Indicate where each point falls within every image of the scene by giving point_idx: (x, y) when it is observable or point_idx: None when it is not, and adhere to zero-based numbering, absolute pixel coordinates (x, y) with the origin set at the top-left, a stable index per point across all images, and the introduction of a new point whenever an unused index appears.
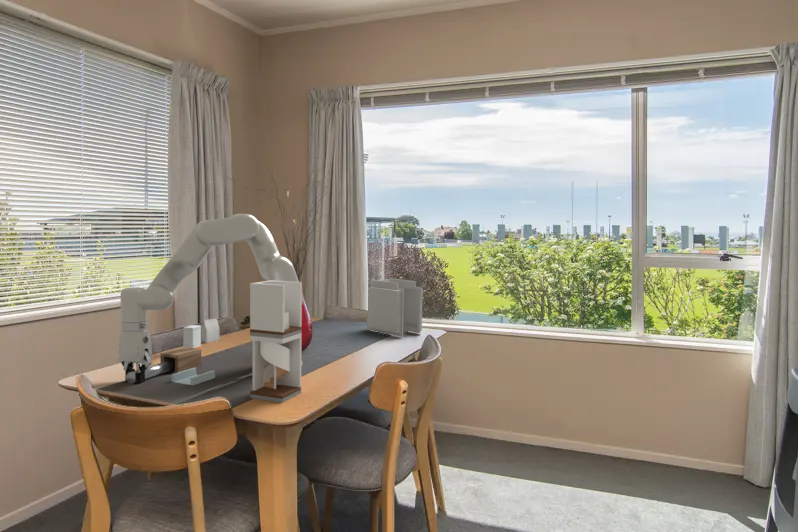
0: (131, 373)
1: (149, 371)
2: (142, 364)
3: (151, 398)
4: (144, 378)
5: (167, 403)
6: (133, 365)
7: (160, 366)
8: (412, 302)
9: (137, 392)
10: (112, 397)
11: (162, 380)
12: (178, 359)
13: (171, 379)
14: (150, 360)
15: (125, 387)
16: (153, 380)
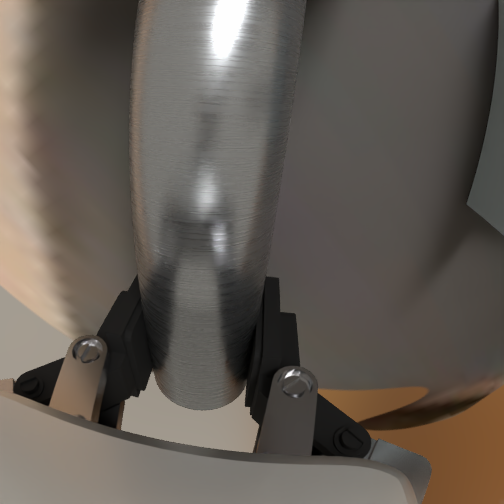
0: (212, 408)
1: (265, 250)
2: (273, 442)
3: (430, 383)
4: (278, 301)
5: (491, 385)
6: (101, 372)
7: (282, 32)
8: None
9: (321, 359)
10: None
11: (302, 62)
12: None
13: (496, 228)
14: (419, 497)
15: None
16: None
